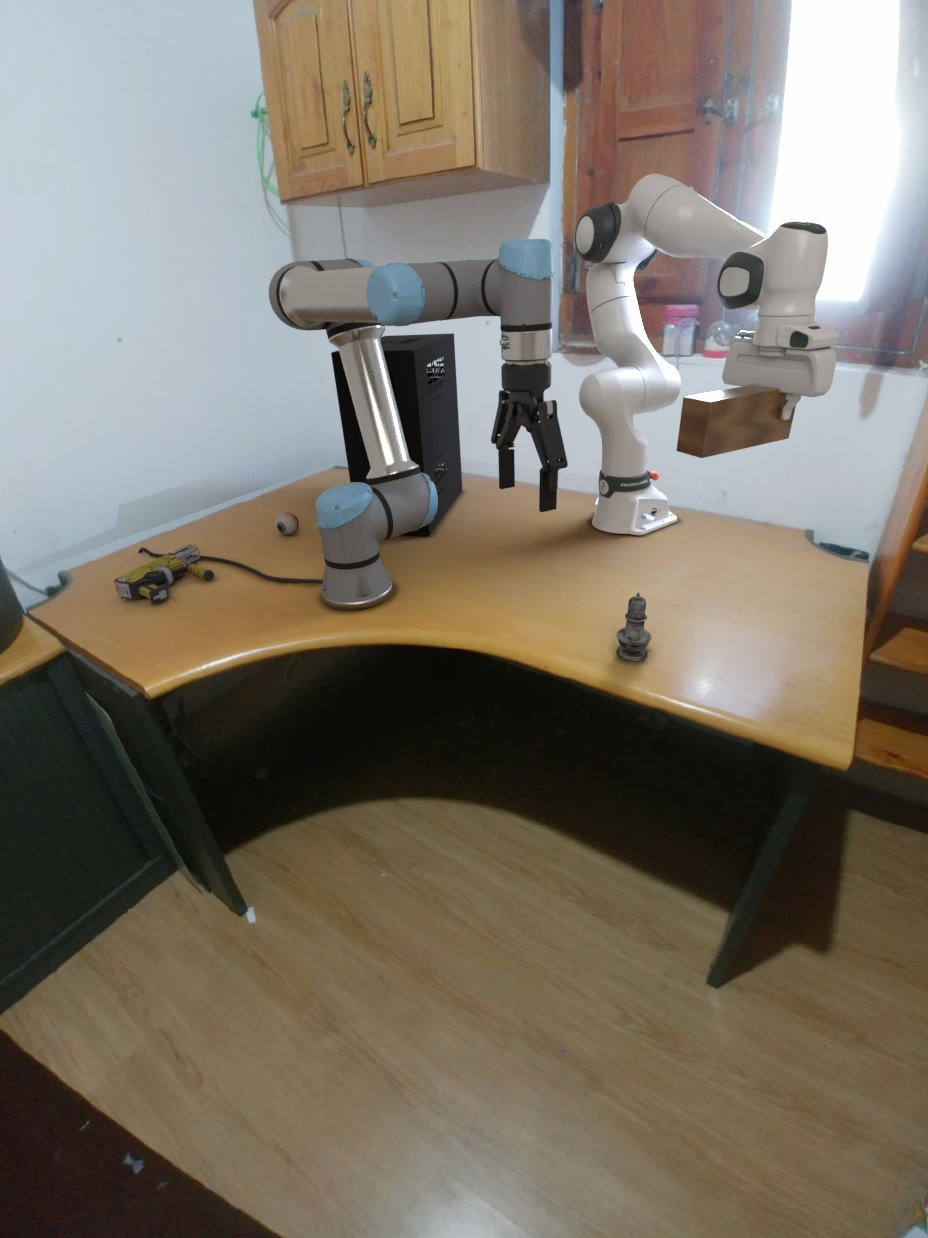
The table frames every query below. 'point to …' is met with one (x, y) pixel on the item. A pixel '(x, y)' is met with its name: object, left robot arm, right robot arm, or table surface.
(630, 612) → the grey chess piece
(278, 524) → the eyeball
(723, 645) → the table surface
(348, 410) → the black computer tower
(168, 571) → the toy gun
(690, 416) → the box
